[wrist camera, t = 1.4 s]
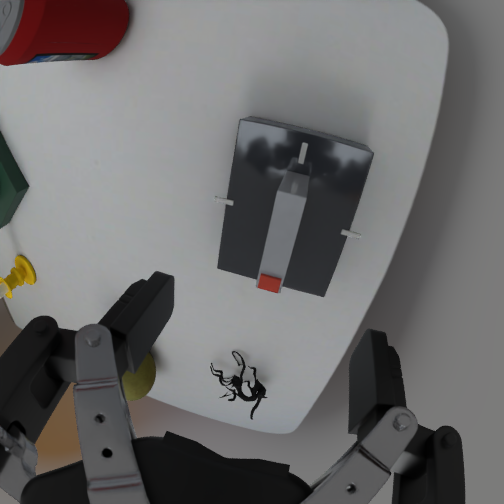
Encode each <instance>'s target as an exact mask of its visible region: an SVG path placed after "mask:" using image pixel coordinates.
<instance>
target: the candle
mask: <svg viewBox="0 0 504 504" xmlns="http://www.w3.org/2000/svg"><path fill="white" fill-rule="evenodd" d="M15 266H16V268H15V267H13V268H12V269H11V274H10V275H8V276H7V277H6V278H5V279H3V278H1V277H0V299H1V298H2V297H3V296H4V295H6V296H7V297H8V298H10V299H11V298H12V292H11V291H12V290H13V289H14V288H16V286H17V285H19V286H22V285H24V281H25V282H26V283H28V284H30V285H33V284H34V283H35V282H36V274H35V271H34V269H33V267H32V265H31V264H30V262H29V261H28V260H27V259H26V258H25V257H24V256H21V255H18V256H17V257H16V258H15Z"/></svg>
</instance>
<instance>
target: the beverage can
mask: <svg viewBox="0 0 504 504" xmlns="http://www.w3.org/2000/svg"><path fill="white" fill-rule="evenodd" d="M128 21H129V9H128V6H127V4H126V2H125V0H0V64H1V65H5V66H9V65H17V64H27V63H38V62H52V61H70V60H95V59H99V58H102V57H104V56H106V55H107V54H109V53H110V52H111V51H112V50H113V49H114V48H115V47H116V46H117V45H118V44H119V42H120V41H121V39H122V38H123V36H124V34H125V31H126V29H127V26H128Z"/></svg>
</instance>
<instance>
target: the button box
mask: <svg viewBox="0 0 504 504" xmlns="http://www.w3.org/2000/svg"><path fill="white" fill-rule="evenodd" d="M28 187H29V186H28V184H27V182H26V180H25V179H24V177H23V175H22V173H21V171H20V170H19V168H18V166H17V164H16V162H15V160H14V158H13V156H12V154H11V152H10V150H9V148H8V146H7V144H6V142H5V140H4V138H3V136H2V134H1V131H0V229H1V228H2V227H4V226H5V225H7V224H8V223H9V222H10V220H11V218H12V216H13V214H14V213H15V211H16V209H17V207H18V205H19V203H20V201H21V200H22V198H23V196H24V194H25V193H26V191H27V189H28Z"/></svg>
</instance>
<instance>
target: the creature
mask: <svg viewBox="0 0 504 504" xmlns="http://www.w3.org/2000/svg"><path fill="white" fill-rule="evenodd" d="M234 352H235V353H237V354H238V355H239V356H240V357H241V360H242V364H239V363H238V361H237V360H236V361H237V363H238V366H240V365H243V369H242V371H241V374H240V378H239V377H238V376H235V375H234V376H233V378H232V377H231V378H232V379H231V380H230V381H231V382H230V381H227V382H230V383H229V384H228V385H230V384H233V385H232V387H233V386H234V387H235V388H236V389H237V391H238V394H237V393H236V392H235V391H236V390H235V389H234V390H232V389H231V388H232V387H231V388H230V389H229V390H230V391H232V392H233V393H232V394H234V397H233V399H228V401H234V400H235V398H236V395H237V396H239V397H240V398H241V399H243V400H244V401H255V400H256V399H257V398H258V400H257V403H256V404H255V406H254V407H253V408H252V410H251V415H250V418H251V419H252V420H253V418H252V417H253V413H254V411H255V409H256V408H257V407H258V405H259V403H260V401H261V399H262V398H267V397H265V396H264V395H265V394H266V389H265V388H264V386H263V385H262V384H261V383H260V382H259V381H258V379H257V380H256V368H254V367H249V366H248V367H249V368H251V369H253V370H254V372H253V375H254V377H255V385H254V387H253V388H251V387H250V382H249V381H244V382H248V385H247V386H248V387H249V388H250V390H251V393H252V396H251V397H247V396H245V395H244V394H243V392H242V388H241V386H242V383H243V379H242V376H243V373H244V370H245V368H246V366H245V362H244V360H243V358H242V356H241V355H240V354H239V353H238V352H236V351H233V352H232V355H233V353H234ZM233 356H234V355H233ZM234 358H235V356H234ZM235 359H236V358H235ZM211 365H212V363H211ZM212 367H213V365H212ZM210 368H211V366H210ZM213 370H214V368H213ZM211 371H212V368H211ZM214 371H215V372H220V373H221V375H219V374H213V372H212V374H213V375H215V376H217V377H219V382H220V383H221V385H223V386H228V385H225V384H223V383H222V381H223V382H226V381H225V380H223V379H225V378H223V372H222V371H221V370H214ZM226 379H229V378H226ZM226 388H227V387H226ZM227 389H228V388H227ZM257 391H258V392H257ZM256 392H257V394H256ZM227 393H228V392H227ZM227 393H226V394H227ZM226 394H225V395H224V396H222V397H225V396H229V395H226ZM230 395H231V394H230ZM222 397H220V398H222Z"/></svg>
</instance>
